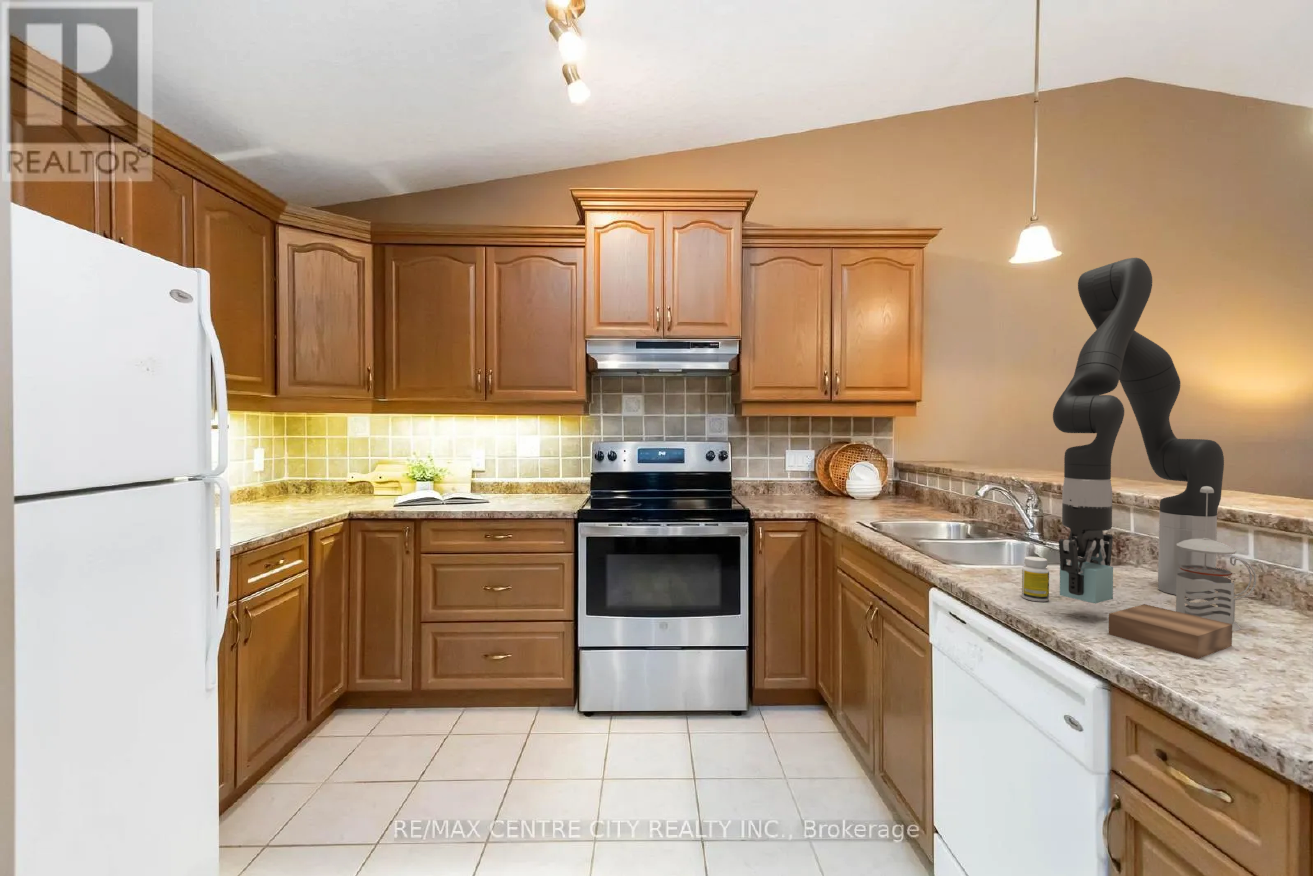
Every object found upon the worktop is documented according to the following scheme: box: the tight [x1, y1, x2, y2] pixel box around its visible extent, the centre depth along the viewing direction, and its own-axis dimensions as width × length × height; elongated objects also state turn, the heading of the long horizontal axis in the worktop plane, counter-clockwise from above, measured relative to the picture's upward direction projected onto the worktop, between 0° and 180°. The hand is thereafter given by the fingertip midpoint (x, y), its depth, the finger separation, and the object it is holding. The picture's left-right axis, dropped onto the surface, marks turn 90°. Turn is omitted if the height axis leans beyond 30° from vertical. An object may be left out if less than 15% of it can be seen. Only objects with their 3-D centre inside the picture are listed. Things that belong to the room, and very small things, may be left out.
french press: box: [1175, 486, 1257, 632], centre depth 107 cm, size 10×12×25 cm
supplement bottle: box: [1021, 556, 1050, 603], centre depth 121 cm, size 5×5×8 cm
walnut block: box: [1108, 603, 1233, 660], centre depth 98 cm, size 12×12×4 cm
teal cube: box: [1059, 561, 1114, 605], centre depth 109 cm, size 6×6×6 cm
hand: (1085, 591), depth 109 cm, fingers closed on teal cube, 6 cm apart
